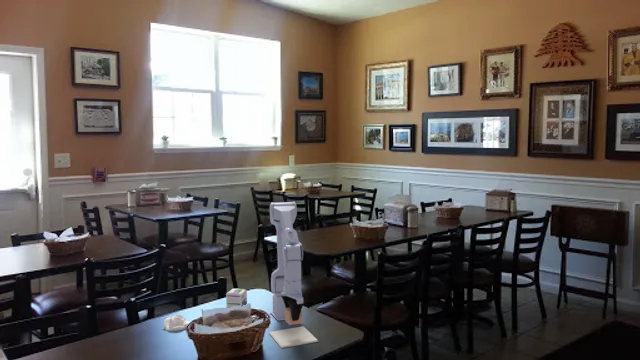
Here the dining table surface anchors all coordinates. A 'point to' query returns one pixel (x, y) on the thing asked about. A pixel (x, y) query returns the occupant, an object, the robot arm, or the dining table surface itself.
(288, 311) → the terracotta block
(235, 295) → the syrup box
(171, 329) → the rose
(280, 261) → the robot arm
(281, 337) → the serving plate
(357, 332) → the dining table surface
